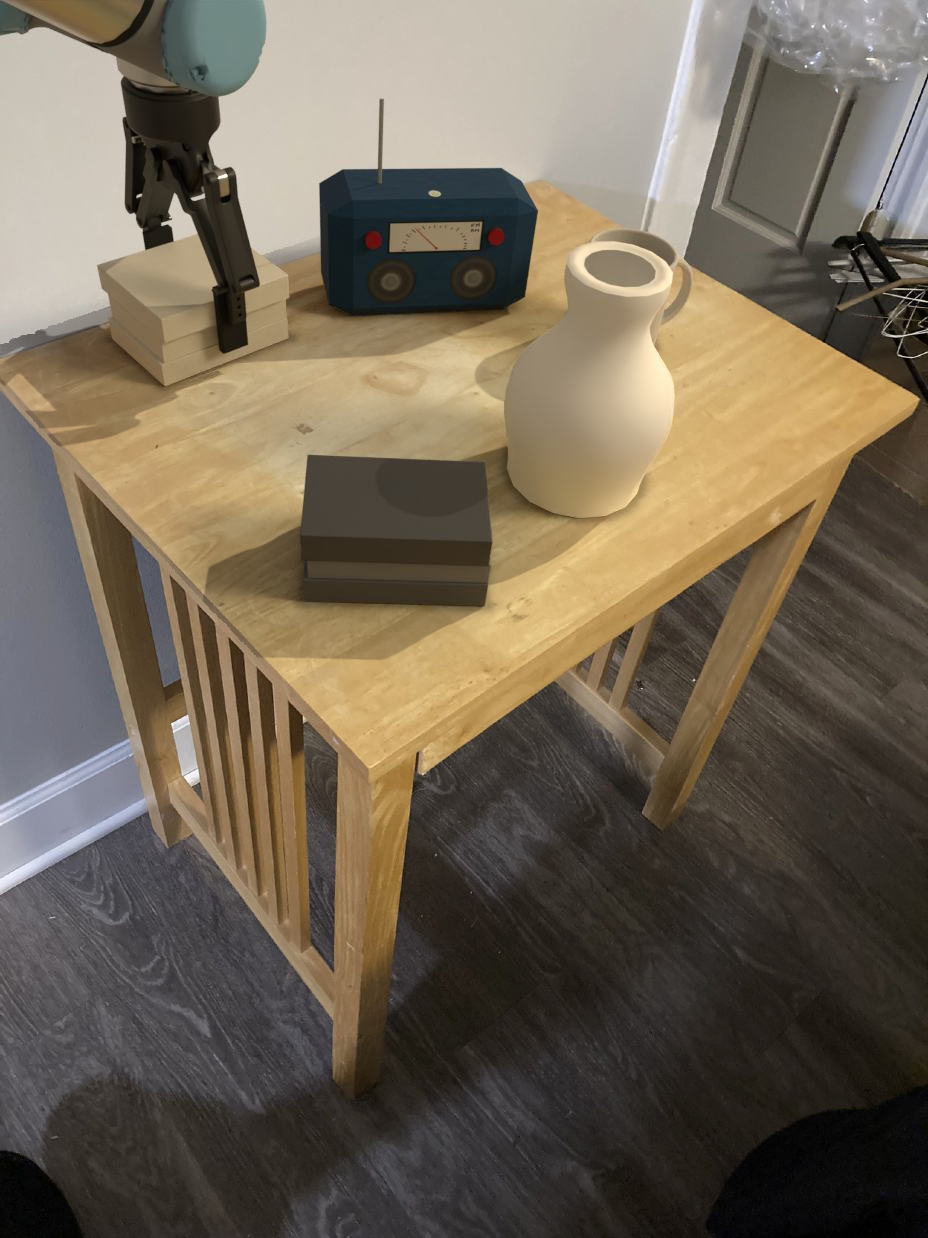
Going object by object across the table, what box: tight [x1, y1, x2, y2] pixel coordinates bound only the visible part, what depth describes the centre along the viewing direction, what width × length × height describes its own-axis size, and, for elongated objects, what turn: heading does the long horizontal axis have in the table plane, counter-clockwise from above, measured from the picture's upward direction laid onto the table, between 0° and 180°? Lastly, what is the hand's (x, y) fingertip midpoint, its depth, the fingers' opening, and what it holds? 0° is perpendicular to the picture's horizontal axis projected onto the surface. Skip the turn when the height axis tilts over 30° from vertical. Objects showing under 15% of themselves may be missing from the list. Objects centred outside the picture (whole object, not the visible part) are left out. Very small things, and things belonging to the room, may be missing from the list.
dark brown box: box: [299, 454, 493, 607], centre depth 75 cm, size 14×9×7 cm, turn 93°
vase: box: [503, 241, 676, 519], centre depth 80 cm, size 14×14×20 cm
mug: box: [588, 227, 694, 347], centre depth 99 cm, size 11×10×10 cm
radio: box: [318, 98, 539, 317], centre depth 97 cm, size 21×9×20 cm, turn 103°
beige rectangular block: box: [107, 293, 289, 387], centre depth 94 cm, size 14×10×5 cm
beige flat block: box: [96, 233, 290, 343], centre depth 91 cm, size 14×11×2 cm
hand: (199, 319), depth 94 cm, fingers closed on beige flat block, 11 cm apart
